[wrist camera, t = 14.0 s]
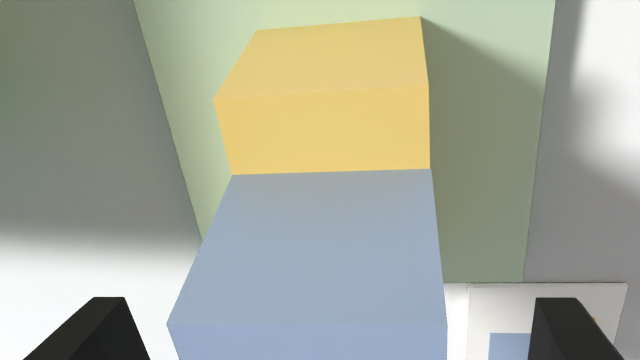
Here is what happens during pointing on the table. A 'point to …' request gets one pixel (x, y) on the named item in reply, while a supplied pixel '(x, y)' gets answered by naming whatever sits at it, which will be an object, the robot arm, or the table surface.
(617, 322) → the page
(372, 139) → the ochre brick
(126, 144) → the table surface
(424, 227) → the blue cube
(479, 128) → the baseplate
